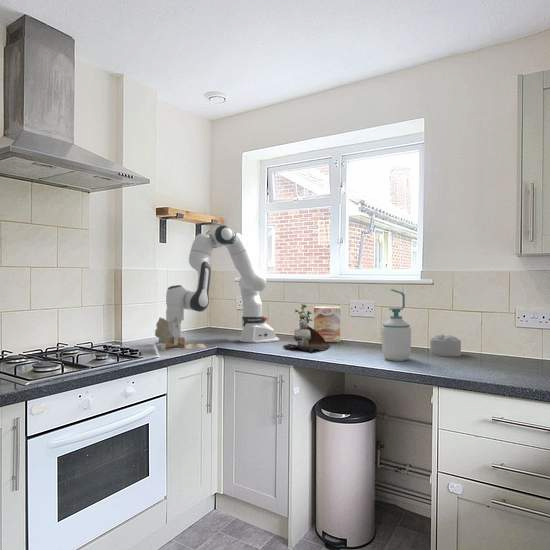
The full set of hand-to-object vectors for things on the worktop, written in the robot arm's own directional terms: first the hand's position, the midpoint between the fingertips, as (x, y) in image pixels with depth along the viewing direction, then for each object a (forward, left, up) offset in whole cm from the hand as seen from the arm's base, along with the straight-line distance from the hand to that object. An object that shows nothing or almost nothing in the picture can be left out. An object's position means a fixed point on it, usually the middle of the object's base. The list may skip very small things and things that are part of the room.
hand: (175, 343), depth 217 cm
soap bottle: (-90, +61, -3) cm, 109 cm away
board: (-4, 0, -3) cm, 5 cm away
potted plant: (-65, +21, -3) cm, 69 cm away
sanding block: (0, 0, -1) cm, 1 cm away
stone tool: (+4, -20, -3) cm, 20 cm away
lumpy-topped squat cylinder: (-118, +59, -3) cm, 132 cm away
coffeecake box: (-85, +2, -3) cm, 85 cm away
